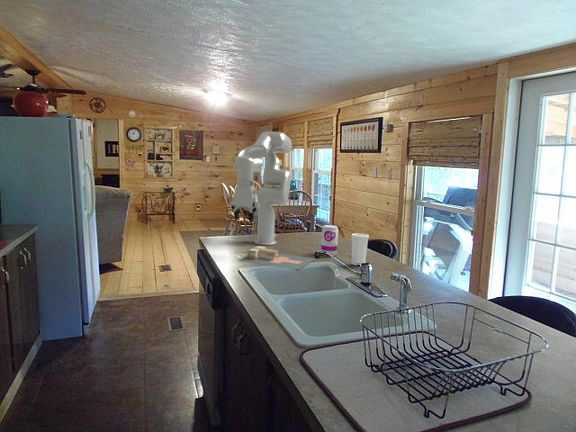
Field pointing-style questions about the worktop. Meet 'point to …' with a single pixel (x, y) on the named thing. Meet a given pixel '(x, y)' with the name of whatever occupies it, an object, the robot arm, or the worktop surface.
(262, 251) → the t block
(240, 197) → the robot arm
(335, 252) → the supplement can
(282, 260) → the mat
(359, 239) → the cup
